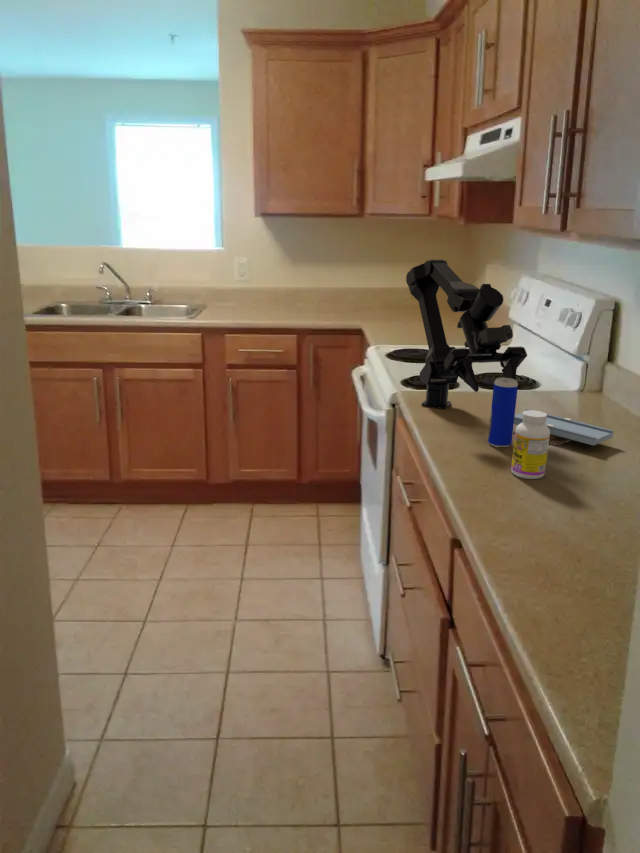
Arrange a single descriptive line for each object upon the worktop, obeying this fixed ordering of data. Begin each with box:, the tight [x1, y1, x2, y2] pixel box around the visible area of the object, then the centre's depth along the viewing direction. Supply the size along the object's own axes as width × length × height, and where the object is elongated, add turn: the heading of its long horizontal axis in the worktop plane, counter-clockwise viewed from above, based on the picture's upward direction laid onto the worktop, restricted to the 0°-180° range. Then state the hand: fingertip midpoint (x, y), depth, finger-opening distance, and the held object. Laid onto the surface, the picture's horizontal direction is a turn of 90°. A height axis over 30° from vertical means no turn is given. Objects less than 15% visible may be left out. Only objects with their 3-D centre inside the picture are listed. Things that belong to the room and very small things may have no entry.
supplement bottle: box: [510, 409, 550, 480], centre depth 149 cm, size 7×7×13 cm
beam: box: [514, 408, 614, 446], centre depth 174 cm, size 22×9×2 cm, turn 44°
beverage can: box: [487, 377, 519, 448], centre depth 166 cm, size 5×5×15 cm
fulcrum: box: [549, 434, 572, 446], centre depth 175 cm, size 6×11×2 cm, turn 134°
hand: (495, 390), depth 169 cm, fingers open, 9 cm apart
